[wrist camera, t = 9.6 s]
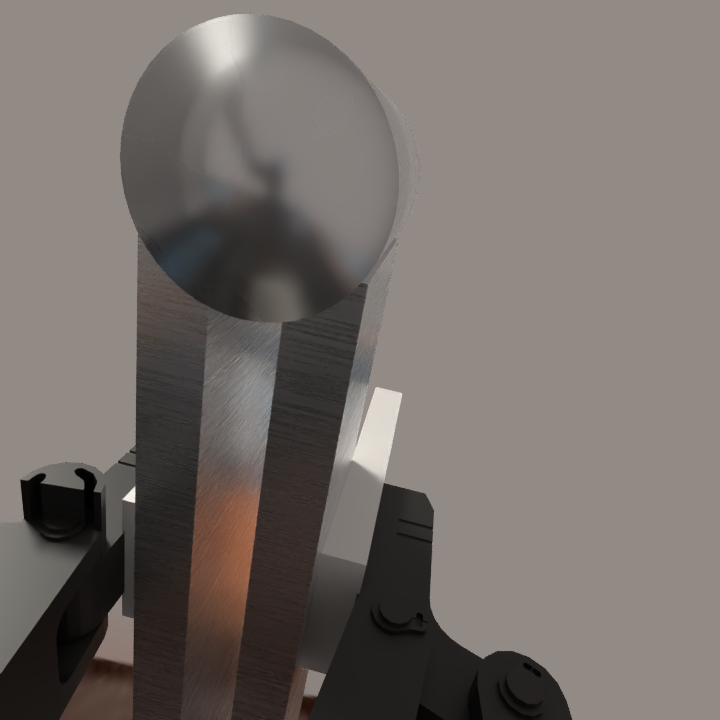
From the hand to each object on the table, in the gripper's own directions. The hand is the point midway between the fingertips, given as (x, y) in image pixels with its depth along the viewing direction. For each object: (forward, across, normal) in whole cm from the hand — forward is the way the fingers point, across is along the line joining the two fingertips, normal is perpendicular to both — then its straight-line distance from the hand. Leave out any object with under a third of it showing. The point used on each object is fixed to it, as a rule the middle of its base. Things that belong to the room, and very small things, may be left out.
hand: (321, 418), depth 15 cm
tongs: (-5, 0, -10) cm, 11 cm away
